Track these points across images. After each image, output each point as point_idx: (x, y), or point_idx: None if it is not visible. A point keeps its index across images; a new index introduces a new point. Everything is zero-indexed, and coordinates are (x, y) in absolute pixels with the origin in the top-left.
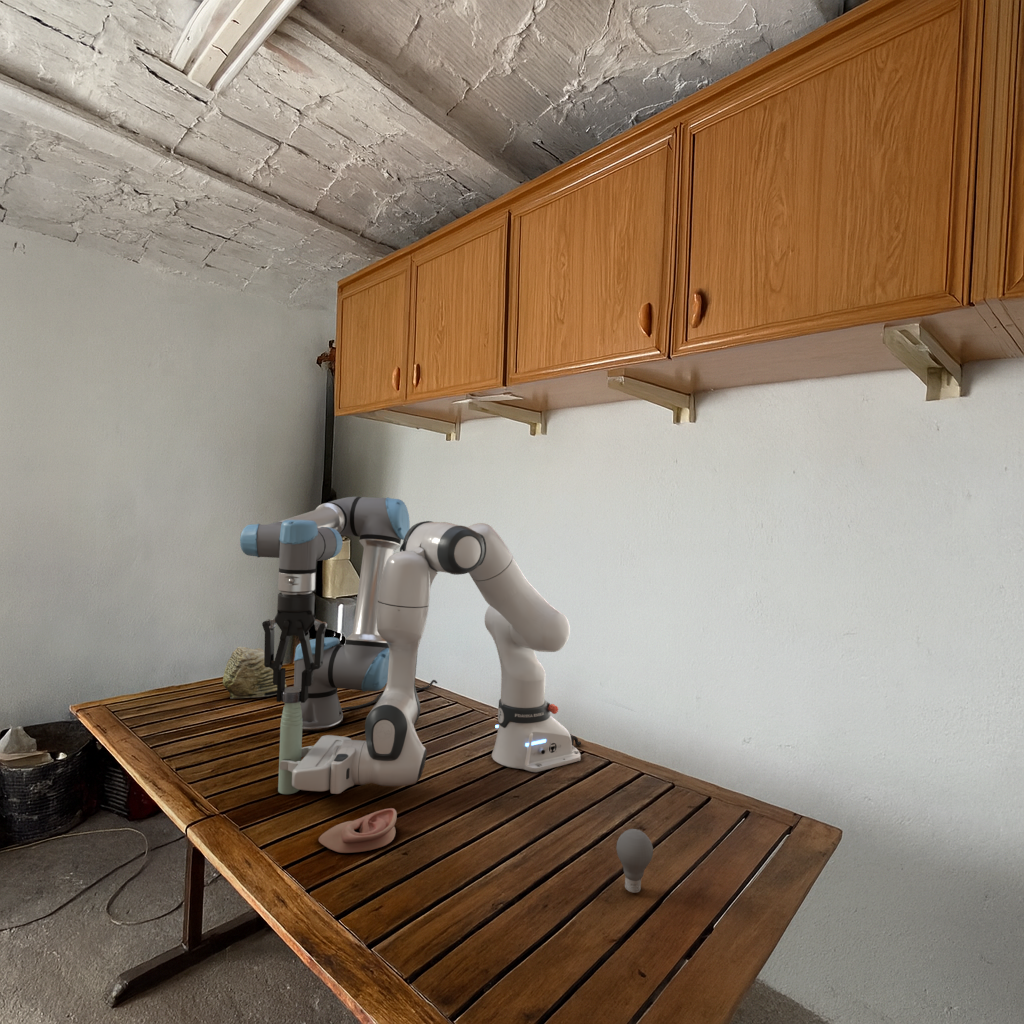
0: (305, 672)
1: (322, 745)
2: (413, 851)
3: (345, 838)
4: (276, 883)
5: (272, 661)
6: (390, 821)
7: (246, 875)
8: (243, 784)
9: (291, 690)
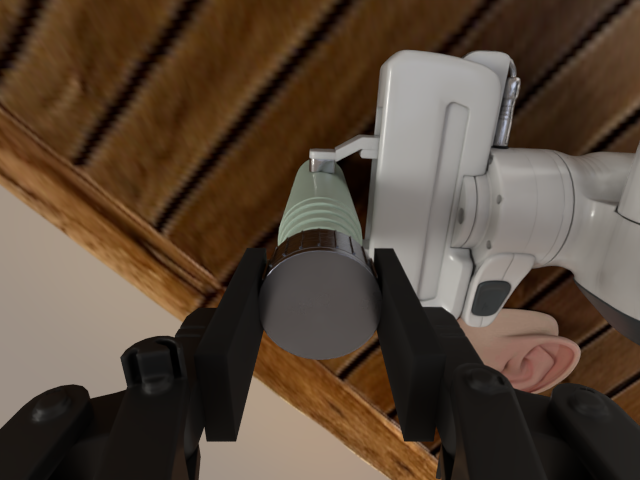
0: (433, 438)
1: (409, 160)
2: (579, 375)
3: None
4: (389, 443)
5: (89, 465)
6: (560, 356)
7: (344, 431)
8: (204, 161)
9: (317, 325)
